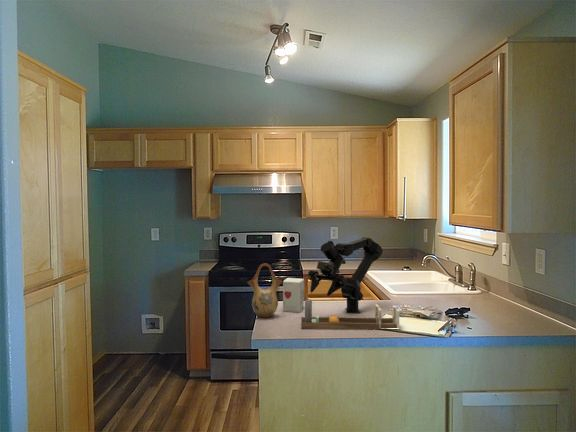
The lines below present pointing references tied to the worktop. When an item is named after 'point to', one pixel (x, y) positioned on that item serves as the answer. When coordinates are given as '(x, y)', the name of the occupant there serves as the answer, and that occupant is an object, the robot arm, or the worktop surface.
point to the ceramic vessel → (264, 295)
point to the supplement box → (293, 294)
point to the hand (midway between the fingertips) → (319, 293)
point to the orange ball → (333, 319)
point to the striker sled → (309, 312)
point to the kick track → (356, 322)
